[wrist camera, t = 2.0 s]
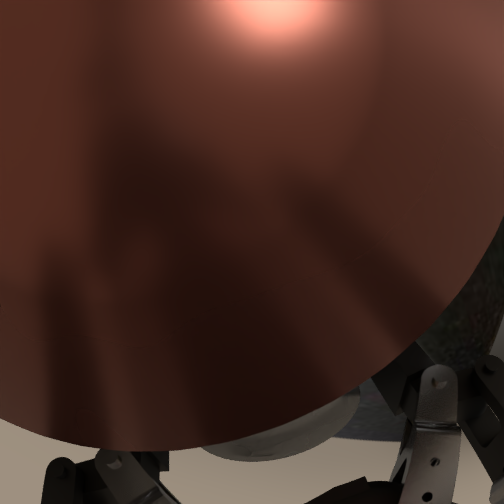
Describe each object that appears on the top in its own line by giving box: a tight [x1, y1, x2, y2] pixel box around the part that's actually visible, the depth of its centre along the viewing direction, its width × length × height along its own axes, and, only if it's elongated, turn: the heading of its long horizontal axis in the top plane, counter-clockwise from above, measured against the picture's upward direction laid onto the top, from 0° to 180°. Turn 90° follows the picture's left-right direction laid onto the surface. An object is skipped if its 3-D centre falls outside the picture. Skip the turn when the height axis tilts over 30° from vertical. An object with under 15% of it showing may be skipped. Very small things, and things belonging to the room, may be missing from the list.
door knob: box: [201, 386, 360, 462], centre depth 11 cm, size 5×5×7 cm
